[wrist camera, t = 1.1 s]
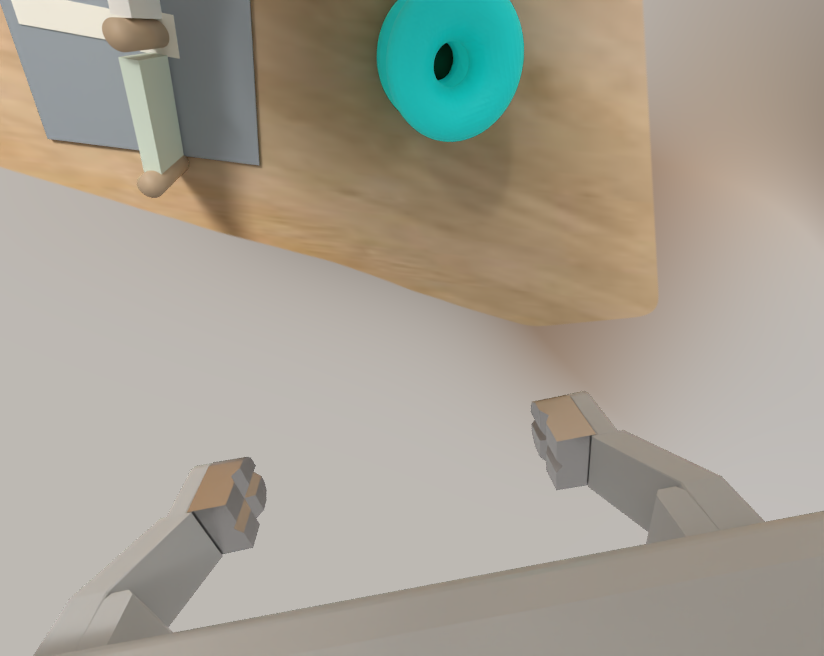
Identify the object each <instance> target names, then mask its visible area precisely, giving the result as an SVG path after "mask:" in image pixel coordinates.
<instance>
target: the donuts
mask: <svg viewBox="0 0 824 656" xmlns="http://www.w3.org/2000/svg"><path fill="white" fill-rule="evenodd" d="M445 43H448V44H449V46H450V47H451V49H452V52H453V64H452V68H451V70H450V72H449V73H448V75H447V76H446V77H444V78H443V79H441V80H437V79H436V76H435V74H434V60H435V56H436V54H437V52H438V50H439V49H440V48H441V47H442V46H443V45H444V44H445ZM523 61H524V40H523V33H522V28H521V24H520V21H519V18H518V15H517V13H516V11H515V9H514V7H513V5H512V3H511V2H510V0H397V2H396V3H395V4H394V5H393V6H392V8H391V9H390V11H389V12H388V14H387V16H386V18H385V20H384V22H383V25H382V28H381V31H380V34H379V39H378V45H377V68H378V73H379V78H380V81H381V84H382V87H383V89H384V91H385V93H386V95H387V97H388V98H389V100H390V101H391V103H392V104H393V105H394V107H395V108H396V109H397V110H398V111H399V112H400V114H401V115H402V116H403V118H404V119H405V120H406V121H407V122H408V124H409V125H411V126H412V127H413V128H414V129H415V130H416V131H418V132H419V133H421V134H422V135H424V136H426V137H428V138H431V139H434V140H438V141H444V142H456V141H462V140H466V139H469V138H472V137H474V136H476V135H478V134H480V133H482V132H484V131H485V130H486V129H488V128H489V127H490V126H492V125H493V124H494V123H495V122H496V121H497V120H498V119H499V118H500V116H501V115H502V114H503V113H504V111H505V110H506V109H507V107H508V106H509V104H510V102H511V100H512V98H513V96H514V94H515V92H516V90H517V87H518V84H519V81H520V77H521V73H522V68H523Z"/></svg>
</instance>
